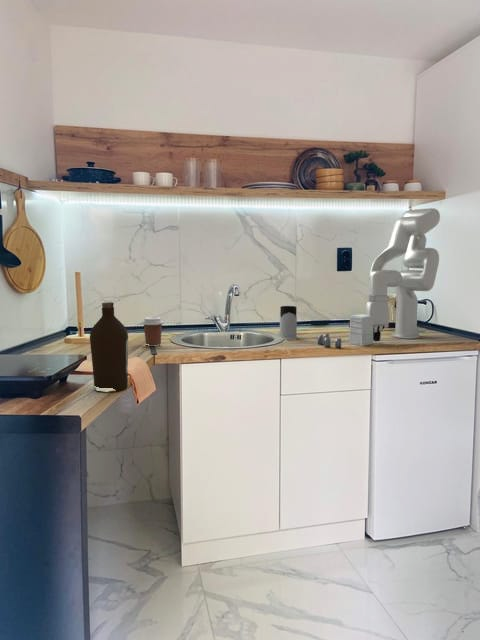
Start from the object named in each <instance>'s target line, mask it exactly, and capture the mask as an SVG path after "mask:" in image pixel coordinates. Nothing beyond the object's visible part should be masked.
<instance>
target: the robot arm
mask: <svg viewBox="0 0 480 640" xmlns="http://www.w3.org/2000/svg"><path fill="white" fill-rule="evenodd" d="M440 220H441V214H440V212H439V210H438V209H436V208H433V207H431V208H429V207H428V208H418V209H410V210H407V211H404V212H403V213H402V215H401V217H399V218H397V219H396V220H395V221H394V223H393V224H394V225H393V228H392V231H391V233H390V237H389V241H388V244H387V246H386V248H385V249H384V250H383V251H381V252H380V254H379V255H377V256H376V258H374V260H373V262H372V265H371V267H370V270H369V271H370V272H369V276H368V281H369V284H368V285H369V288H368V289H369V290H368V301H367V302H366V305H365V309H364V315H368V316H373V342H380V341H381V337H382V336H381V334H382V333H381V332H383V330H384V329H385V328H386V329H387V328H389V323H390V309H389V308H390V307H389V303H388V300H390V296H388V288H395V290H396V291H395V292H396V303H395V304H396V305H395V306H396V307H395V328H394V329H395V330H394V332H392V333H391V337H393V338H397V339H405V340H406V339H409V340H411V339H412V340H413V339H419V338H420V337H421V336H420V334H421V333H426V331H427V330H426V328H420V327H418V325H417V323H418V303H419V300H418V297H417V295H416V293H415V292H430V291H431V290H433V288H434V285H435V281H436V277H437V273H438V268H439V265H440V264H439V262H440V254H439V251H438V250H437V249H436V248H434V247H426V244H427V237H426V235H425V234H427V233H429V232H430V231H432V230H433V229H434V228H435V227H437V226H438V224H439V223H440ZM401 256H403V259H402V263H403V265H404V267H405V268H408V269H403V270H400V271H399V270H395V269H394V270H393V269H384V267H385V266H386V265H387V264H388V263H389V262H390V261H392V260H395V259H397V258H399V257H401ZM415 269H417V270H415ZM419 269H421V270H419Z"/></svg>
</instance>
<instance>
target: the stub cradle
mask: <svg viewBox="0 0 480 640" xmlns="http://www.w3.org/2000/svg"><path fill="white" fill-rule="evenodd" d="M334 341H335V346H334V347H335V349H337V350H338V349H342V338H340V337H336V338H335V340H334ZM318 344H319V346H323V345H324V348H325V349H330V348H331V337H330V334H329V333H323V334H318V335H317V345H318Z"/></svg>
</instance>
